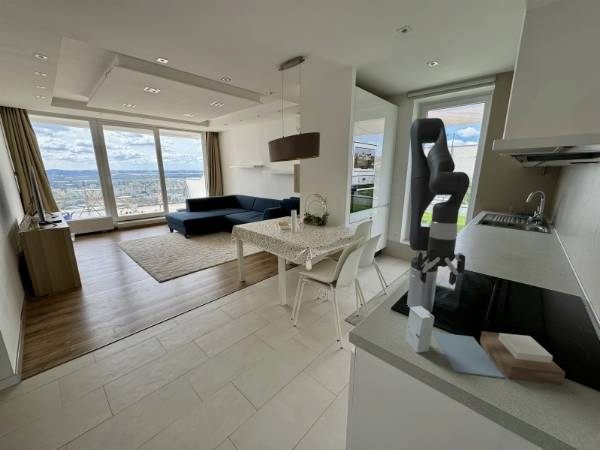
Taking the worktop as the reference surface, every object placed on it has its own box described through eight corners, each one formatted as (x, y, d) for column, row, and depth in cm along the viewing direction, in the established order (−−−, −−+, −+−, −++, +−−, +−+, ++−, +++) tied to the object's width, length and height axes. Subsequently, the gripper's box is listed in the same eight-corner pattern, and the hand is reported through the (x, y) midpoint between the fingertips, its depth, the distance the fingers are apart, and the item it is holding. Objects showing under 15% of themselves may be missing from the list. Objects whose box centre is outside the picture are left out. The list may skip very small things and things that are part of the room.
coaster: (498, 338, 72) (499, 333, 72) (528, 342, 71) (530, 336, 70) (516, 358, 65) (517, 352, 64) (551, 362, 63) (552, 356, 63)
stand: (479, 342, 77) (481, 331, 76) (522, 346, 74) (525, 335, 73) (508, 378, 63) (511, 366, 62) (561, 385, 61) (565, 372, 60)
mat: (433, 333, 81) (433, 332, 81) (473, 337, 79) (473, 336, 79) (454, 371, 65) (454, 370, 65) (504, 378, 63) (504, 377, 63)
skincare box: (404, 340, 78) (408, 306, 75) (417, 338, 79) (420, 305, 76) (417, 353, 72) (421, 318, 69) (430, 351, 73) (435, 316, 70)
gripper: (461, 234, 79) (455, 280, 82) (415, 232, 81) (411, 277, 84) (473, 239, 72) (466, 290, 75) (422, 237, 74) (417, 286, 77)
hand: (437, 283), depth 80 cm, fingers open, 8 cm apart
